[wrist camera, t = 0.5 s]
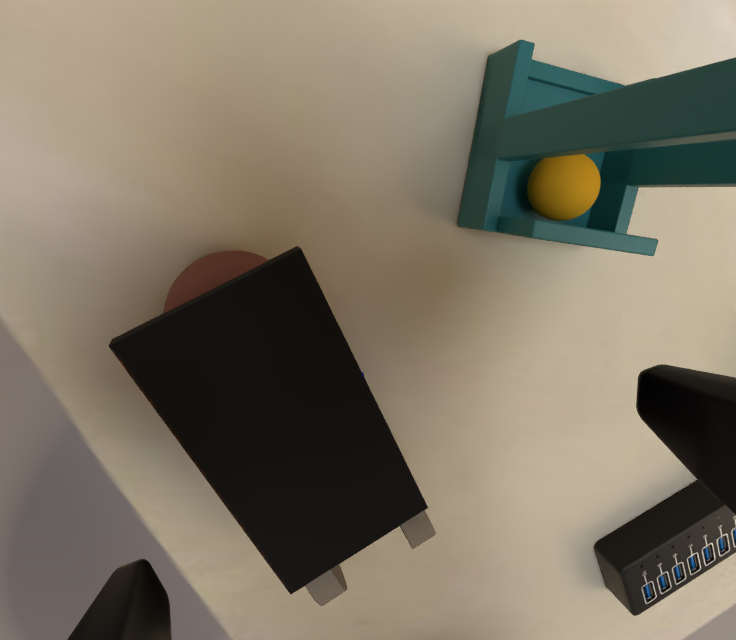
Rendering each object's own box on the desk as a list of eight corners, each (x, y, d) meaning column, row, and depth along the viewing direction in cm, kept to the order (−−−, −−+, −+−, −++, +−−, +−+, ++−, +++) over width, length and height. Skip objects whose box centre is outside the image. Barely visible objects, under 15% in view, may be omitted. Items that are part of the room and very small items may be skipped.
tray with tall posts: (585, 245, 25) (953, 303, 12) (456, 226, 22) (741, 272, 10) (623, 91, 23) (1094, -27, 10) (488, 55, 21) (877, -150, 8)
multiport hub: (593, 544, 30) (620, 571, 28) (769, 437, 32) (807, 454, 30) (607, 590, 32) (634, 619, 30) (774, 485, 34) (811, 505, 32)
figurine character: (401, 454, 27) (274, 208, 20) (469, 562, 20) (312, 247, 13) (294, 517, 26) (124, 284, 19) (327, 652, 19) (82, 367, 12)
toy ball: (574, 206, 23) (620, 210, 20) (520, 227, 23) (560, 233, 20) (564, 144, 22) (612, 138, 19) (508, 164, 22) (548, 161, 19)
